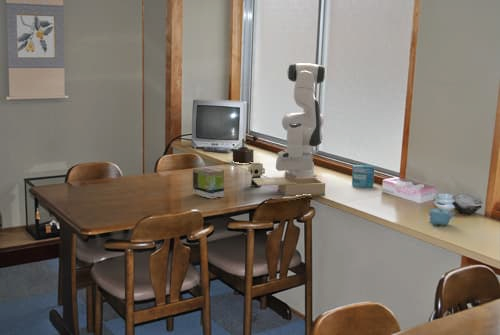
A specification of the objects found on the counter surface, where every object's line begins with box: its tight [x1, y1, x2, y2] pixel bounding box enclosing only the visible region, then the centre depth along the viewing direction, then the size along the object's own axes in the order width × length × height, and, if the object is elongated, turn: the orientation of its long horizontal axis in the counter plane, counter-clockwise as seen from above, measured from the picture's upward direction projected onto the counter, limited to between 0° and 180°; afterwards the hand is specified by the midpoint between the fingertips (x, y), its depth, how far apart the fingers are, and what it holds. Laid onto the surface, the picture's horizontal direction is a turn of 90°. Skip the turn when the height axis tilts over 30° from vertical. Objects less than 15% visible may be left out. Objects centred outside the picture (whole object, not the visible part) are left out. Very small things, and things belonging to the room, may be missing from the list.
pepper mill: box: [232, 135, 259, 163], centre depth 434 cm, size 16×11×18 cm
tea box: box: [192, 166, 225, 199], centre depth 344 cm, size 15×10×15 cm, turn 41°
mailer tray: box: [277, 176, 326, 198], centre depth 353 cm, size 15×22×6 cm
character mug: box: [247, 162, 266, 187], centre depth 367 cm, size 11×7×13 cm, turn 58°
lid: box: [251, 171, 296, 187], centre depth 349 cm, size 15×21×4 cm
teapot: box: [428, 208, 456, 228], centre depth 295 cm, size 12×6×8 cm, turn 60°
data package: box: [351, 164, 375, 189], centre depth 369 cm, size 12×4×12 cm, turn 78°
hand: (294, 178), depth 351 cm, fingers closed
